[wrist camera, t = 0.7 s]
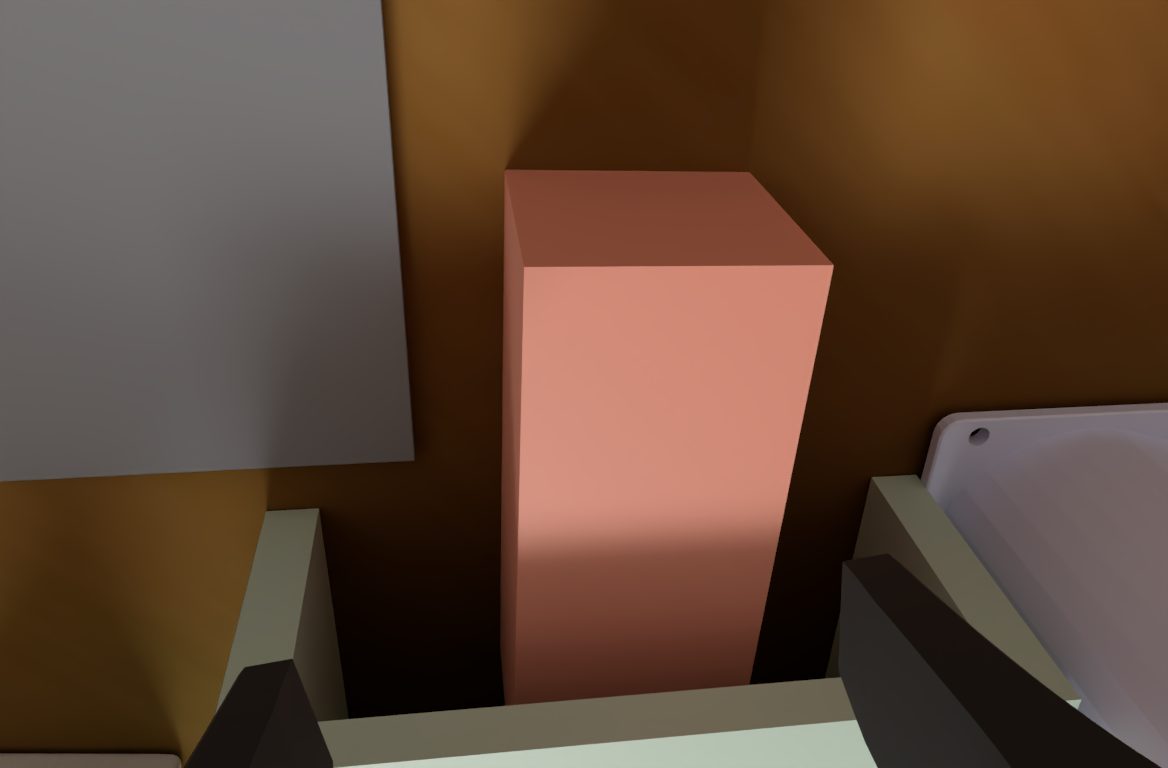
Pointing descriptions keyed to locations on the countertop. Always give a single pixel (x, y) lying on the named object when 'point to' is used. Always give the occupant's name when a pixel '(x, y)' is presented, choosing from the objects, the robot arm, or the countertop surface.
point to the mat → (198, 238)
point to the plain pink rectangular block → (646, 425)
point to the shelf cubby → (622, 723)
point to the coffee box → (88, 760)
